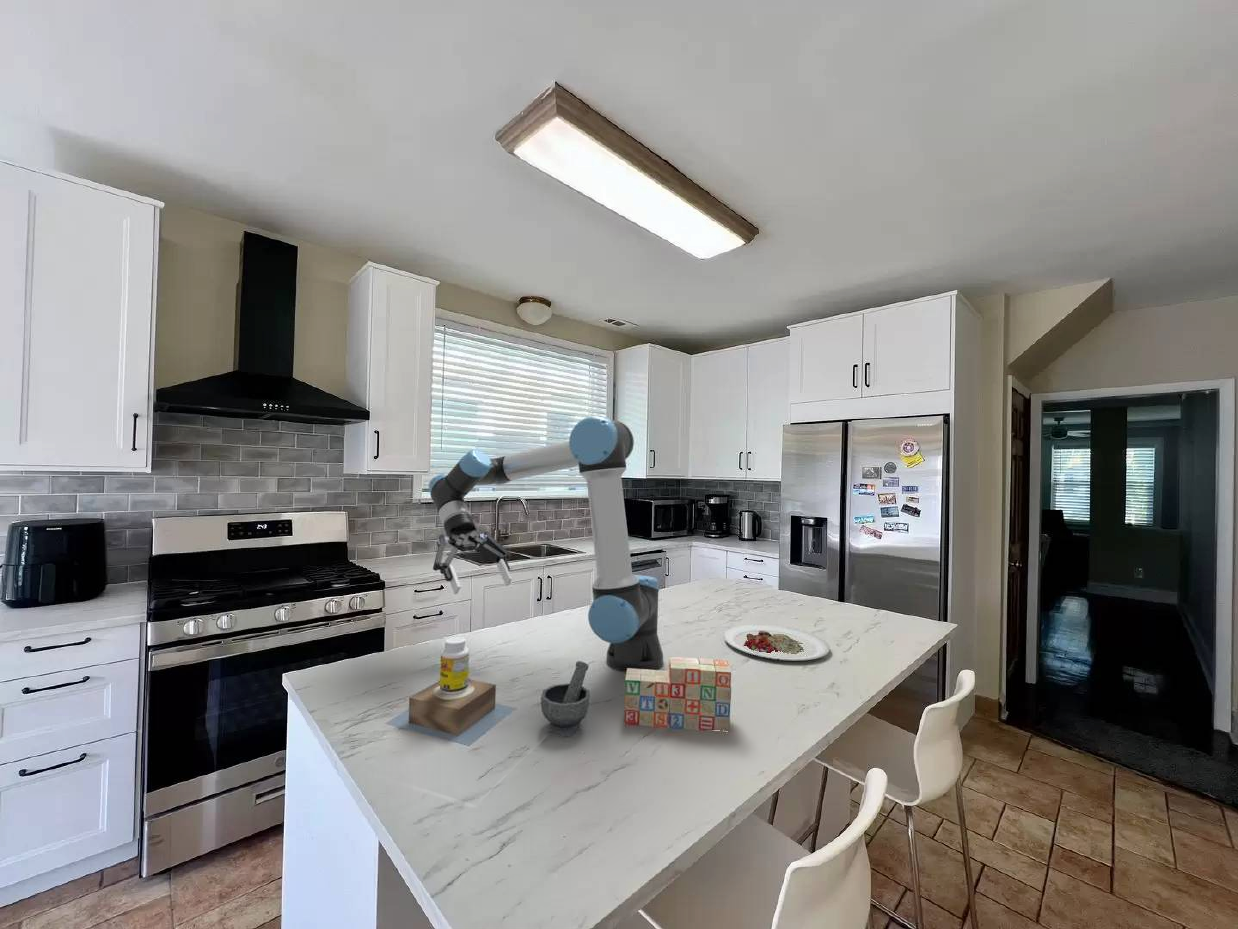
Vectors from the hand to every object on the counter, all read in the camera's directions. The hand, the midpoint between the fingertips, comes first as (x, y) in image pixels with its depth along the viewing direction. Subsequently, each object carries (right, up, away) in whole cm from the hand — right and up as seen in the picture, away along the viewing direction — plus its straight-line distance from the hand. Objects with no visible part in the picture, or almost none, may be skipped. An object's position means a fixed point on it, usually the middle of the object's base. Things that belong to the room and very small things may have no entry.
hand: (484, 586), depth 126 cm
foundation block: (-1, -22, -20) cm, 29 cm away
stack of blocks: (+45, -24, -19) cm, 54 cm away
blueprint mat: (-1, -22, -20) cm, 30 cm away
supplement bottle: (-1, -17, -20) cm, 26 cm away
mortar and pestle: (+22, -23, -23) cm, 39 cm away
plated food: (+80, -25, +28) cm, 88 cm away
